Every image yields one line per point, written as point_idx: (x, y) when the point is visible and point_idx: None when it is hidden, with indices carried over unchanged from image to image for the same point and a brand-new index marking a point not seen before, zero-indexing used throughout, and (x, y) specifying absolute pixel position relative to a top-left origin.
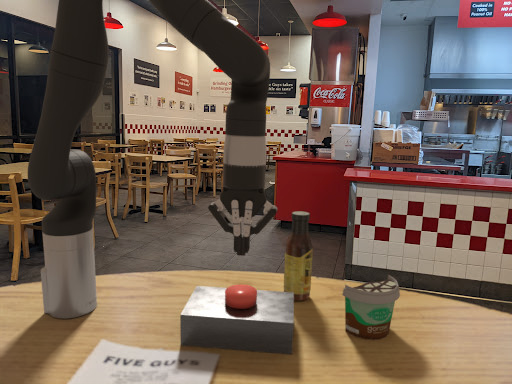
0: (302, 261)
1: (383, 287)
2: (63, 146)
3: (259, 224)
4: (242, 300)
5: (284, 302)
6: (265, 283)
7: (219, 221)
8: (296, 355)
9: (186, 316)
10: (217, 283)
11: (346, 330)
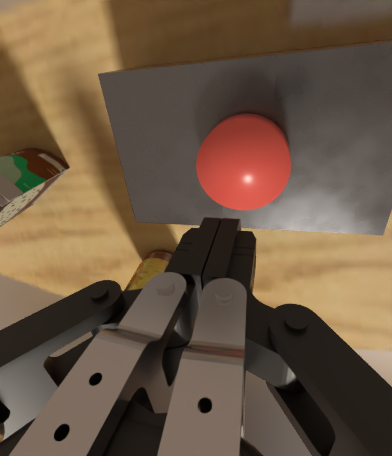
0: None
1: None
2: None
3: (52, 328)
4: (230, 121)
5: (143, 175)
6: None
7: (383, 397)
8: (126, 66)
9: None
10: (320, 306)
11: (66, 166)
